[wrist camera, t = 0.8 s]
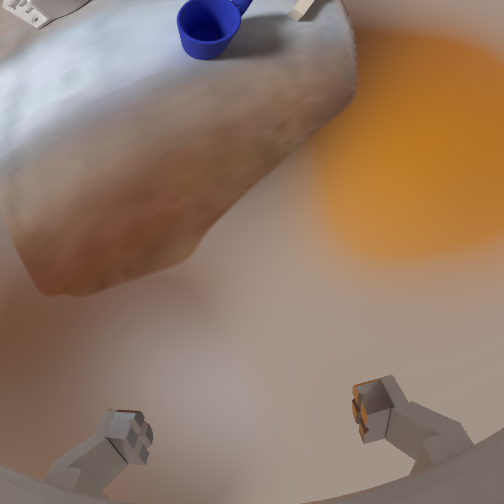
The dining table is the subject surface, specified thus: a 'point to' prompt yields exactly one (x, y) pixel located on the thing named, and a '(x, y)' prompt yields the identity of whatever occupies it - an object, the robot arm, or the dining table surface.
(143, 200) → the dining table surface
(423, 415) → the robot arm
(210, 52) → the mug
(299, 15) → the beige blocky open frame
